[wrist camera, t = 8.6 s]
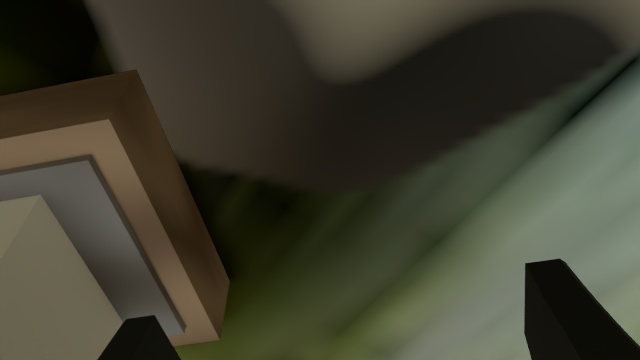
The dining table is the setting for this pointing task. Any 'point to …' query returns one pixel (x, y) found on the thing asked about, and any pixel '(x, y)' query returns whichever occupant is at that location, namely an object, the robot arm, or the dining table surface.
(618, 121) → the dining table surface
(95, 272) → the stand
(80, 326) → the block
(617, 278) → the dining table surface
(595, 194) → the dining table surface
